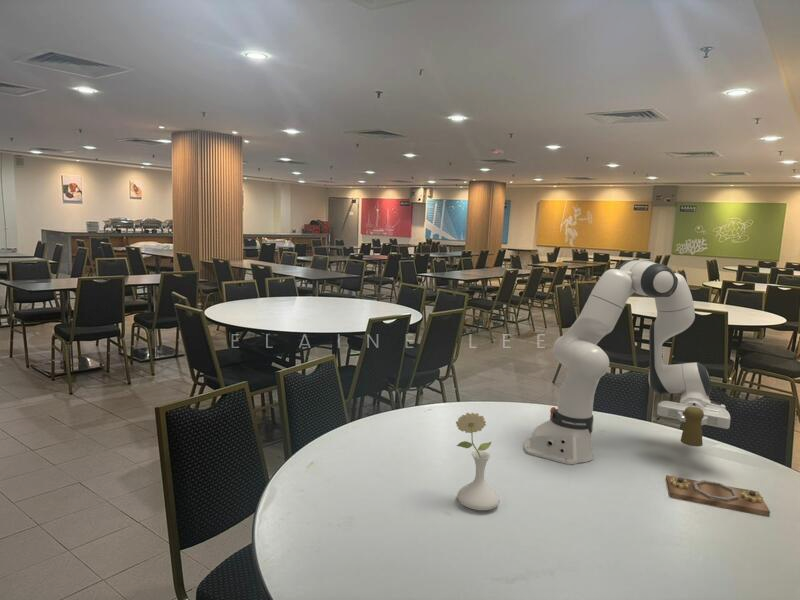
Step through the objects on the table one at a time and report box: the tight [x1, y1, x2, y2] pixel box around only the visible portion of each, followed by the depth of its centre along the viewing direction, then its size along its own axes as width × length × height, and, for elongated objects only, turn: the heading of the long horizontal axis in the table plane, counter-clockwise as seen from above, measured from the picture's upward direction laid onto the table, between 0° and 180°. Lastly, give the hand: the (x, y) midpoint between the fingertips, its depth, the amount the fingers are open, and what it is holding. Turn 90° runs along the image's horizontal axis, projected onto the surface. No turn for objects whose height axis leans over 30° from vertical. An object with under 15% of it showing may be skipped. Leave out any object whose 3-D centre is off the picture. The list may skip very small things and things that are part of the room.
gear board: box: [665, 474, 771, 518], centre depth 153 cm, size 24×12×4 cm, turn 69°
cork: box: [680, 407, 704, 447], centre depth 164 cm, size 6×6×11 cm
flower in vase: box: [455, 412, 501, 511], centre depth 143 cm, size 13×11×25 cm
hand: (691, 421), depth 164 cm, fingers closed on cork, 3 cm apart
